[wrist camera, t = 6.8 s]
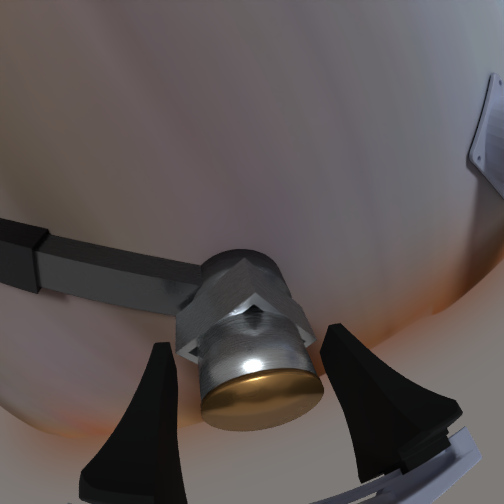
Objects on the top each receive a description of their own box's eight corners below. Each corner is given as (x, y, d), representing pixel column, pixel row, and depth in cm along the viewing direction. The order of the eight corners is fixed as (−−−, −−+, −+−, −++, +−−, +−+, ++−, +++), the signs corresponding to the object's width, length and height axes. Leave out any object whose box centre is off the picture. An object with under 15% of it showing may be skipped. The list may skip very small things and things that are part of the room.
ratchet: (296, 259, 15) (325, 310, 12) (263, 325, 17) (279, 378, 14) (-43, 189, 8) (-84, 221, 5) (-33, 261, 10) (-63, 299, 7)
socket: (302, 306, 14) (342, 392, 10) (238, 352, 15) (256, 437, 11) (244, 255, 12) (276, 358, 7) (174, 315, 13) (175, 415, 8)
